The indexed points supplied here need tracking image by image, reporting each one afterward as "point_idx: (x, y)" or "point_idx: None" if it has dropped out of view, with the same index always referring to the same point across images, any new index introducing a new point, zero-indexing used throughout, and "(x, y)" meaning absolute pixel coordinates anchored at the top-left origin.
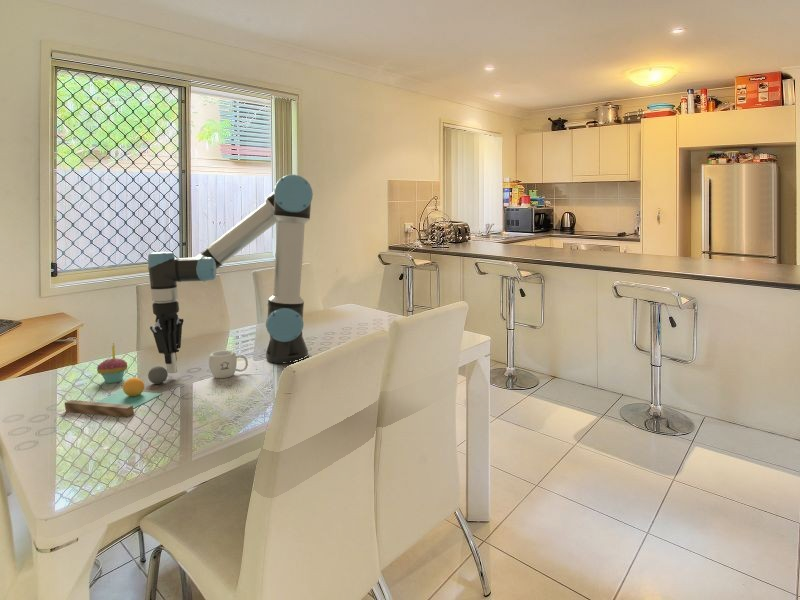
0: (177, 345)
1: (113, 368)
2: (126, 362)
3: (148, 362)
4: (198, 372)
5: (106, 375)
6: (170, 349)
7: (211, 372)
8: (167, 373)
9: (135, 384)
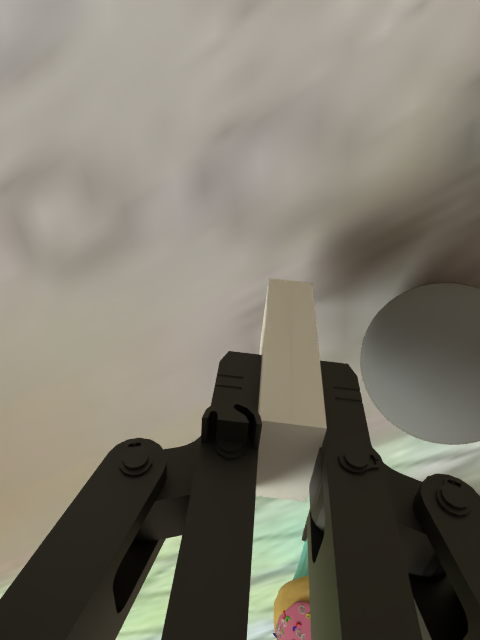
0: (152, 498)
1: None
2: (303, 610)
3: (45, 531)
4: (109, 140)
5: None
6: (355, 500)
7: None
8: (418, 304)
9: None
